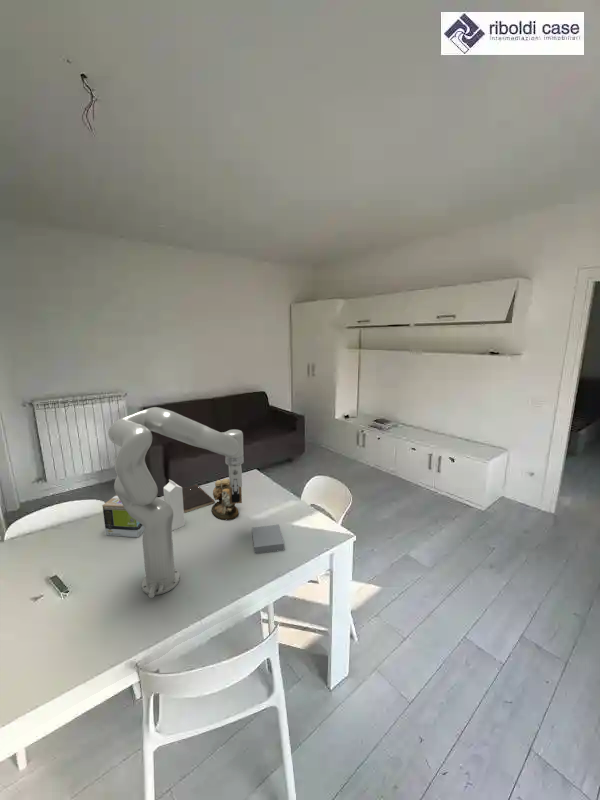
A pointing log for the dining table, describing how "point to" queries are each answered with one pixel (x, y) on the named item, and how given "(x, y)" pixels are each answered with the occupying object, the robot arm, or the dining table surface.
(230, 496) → the walnut block
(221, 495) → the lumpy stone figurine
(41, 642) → the dining table surface
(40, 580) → the dining table surface
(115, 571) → the dining table surface
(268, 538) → the slate platform
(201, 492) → the hardcover book
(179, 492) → the milk
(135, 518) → the robot arm
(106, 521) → the tea box
